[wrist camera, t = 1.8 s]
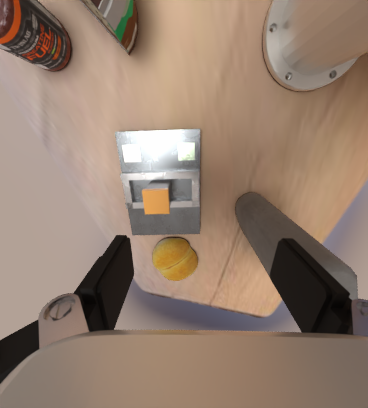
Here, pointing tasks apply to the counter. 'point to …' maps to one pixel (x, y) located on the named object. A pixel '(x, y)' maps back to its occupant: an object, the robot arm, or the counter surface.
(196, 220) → the panel
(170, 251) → the bread roll
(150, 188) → the lever
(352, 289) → the flask
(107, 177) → the counter surface
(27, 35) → the supplement bottle
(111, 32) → the food container
